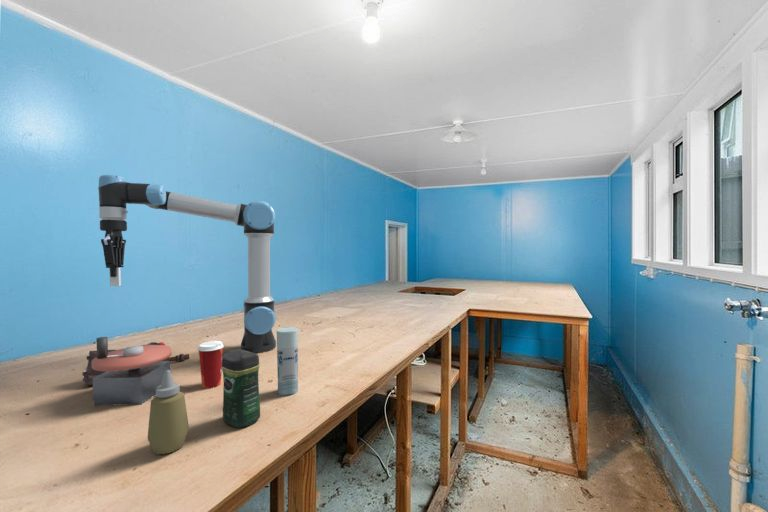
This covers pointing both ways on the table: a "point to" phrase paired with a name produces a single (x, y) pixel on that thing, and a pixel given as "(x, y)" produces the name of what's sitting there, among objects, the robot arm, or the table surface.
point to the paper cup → (211, 363)
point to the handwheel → (127, 356)
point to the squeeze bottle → (167, 417)
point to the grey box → (128, 385)
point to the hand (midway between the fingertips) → (115, 285)
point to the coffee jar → (240, 388)
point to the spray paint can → (287, 360)
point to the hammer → (93, 373)
